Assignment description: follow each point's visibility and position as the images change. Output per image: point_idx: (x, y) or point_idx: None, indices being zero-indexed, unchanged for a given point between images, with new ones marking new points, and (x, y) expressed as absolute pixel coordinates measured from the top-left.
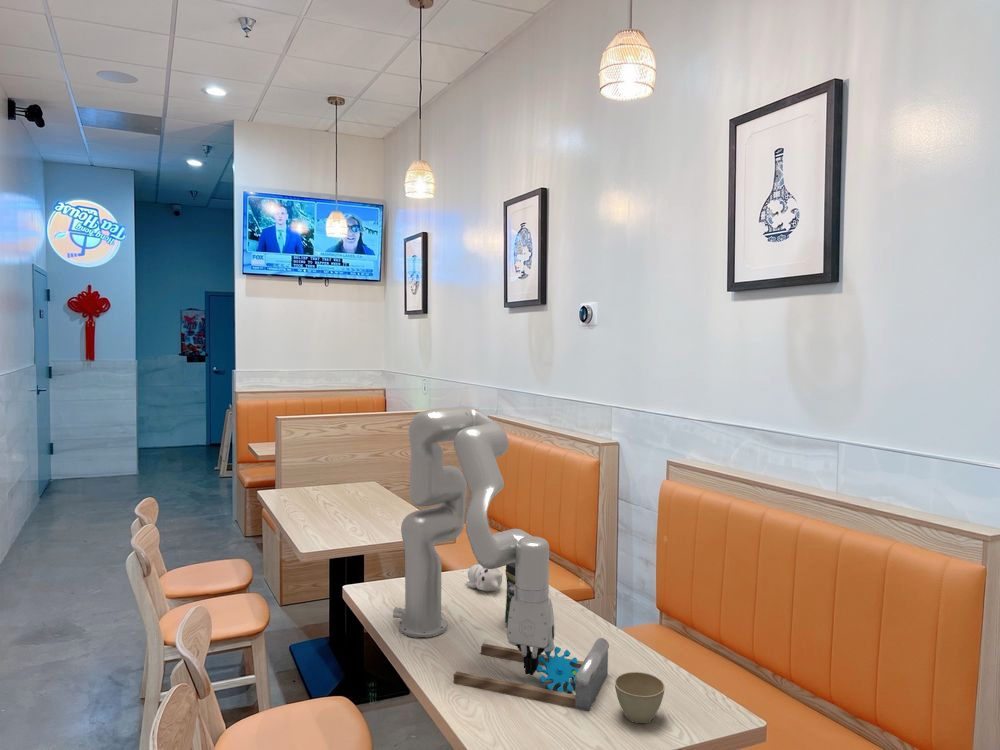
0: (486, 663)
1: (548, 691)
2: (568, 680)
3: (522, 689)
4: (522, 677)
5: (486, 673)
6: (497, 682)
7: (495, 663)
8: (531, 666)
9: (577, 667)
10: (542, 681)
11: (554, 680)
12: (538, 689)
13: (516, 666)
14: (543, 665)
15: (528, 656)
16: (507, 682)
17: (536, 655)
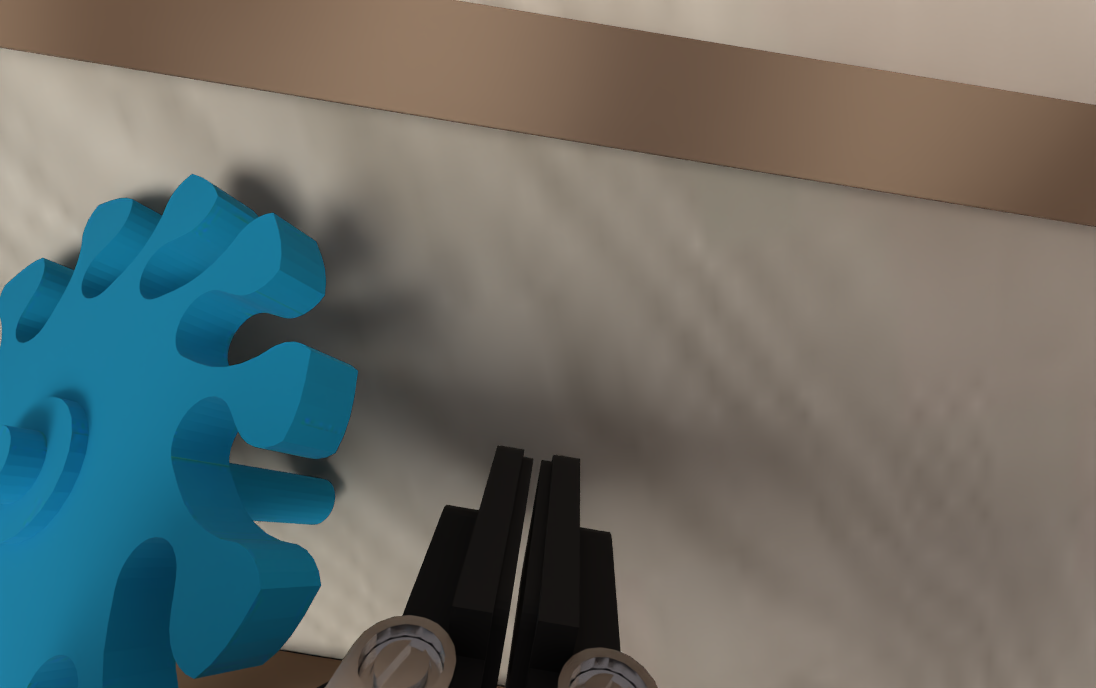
0: (1000, 651)
1: (134, 13)
2: (5, 361)
3: (536, 16)
4: (619, 476)
5: (1008, 486)
6: (957, 104)
7: (908, 661)
8: (485, 512)
9: None
10: (265, 218)
11: (133, 298)
12: (291, 37)
13: (703, 642)
14: None
15: (531, 663)
16: (793, 142)
17: (345, 670)
